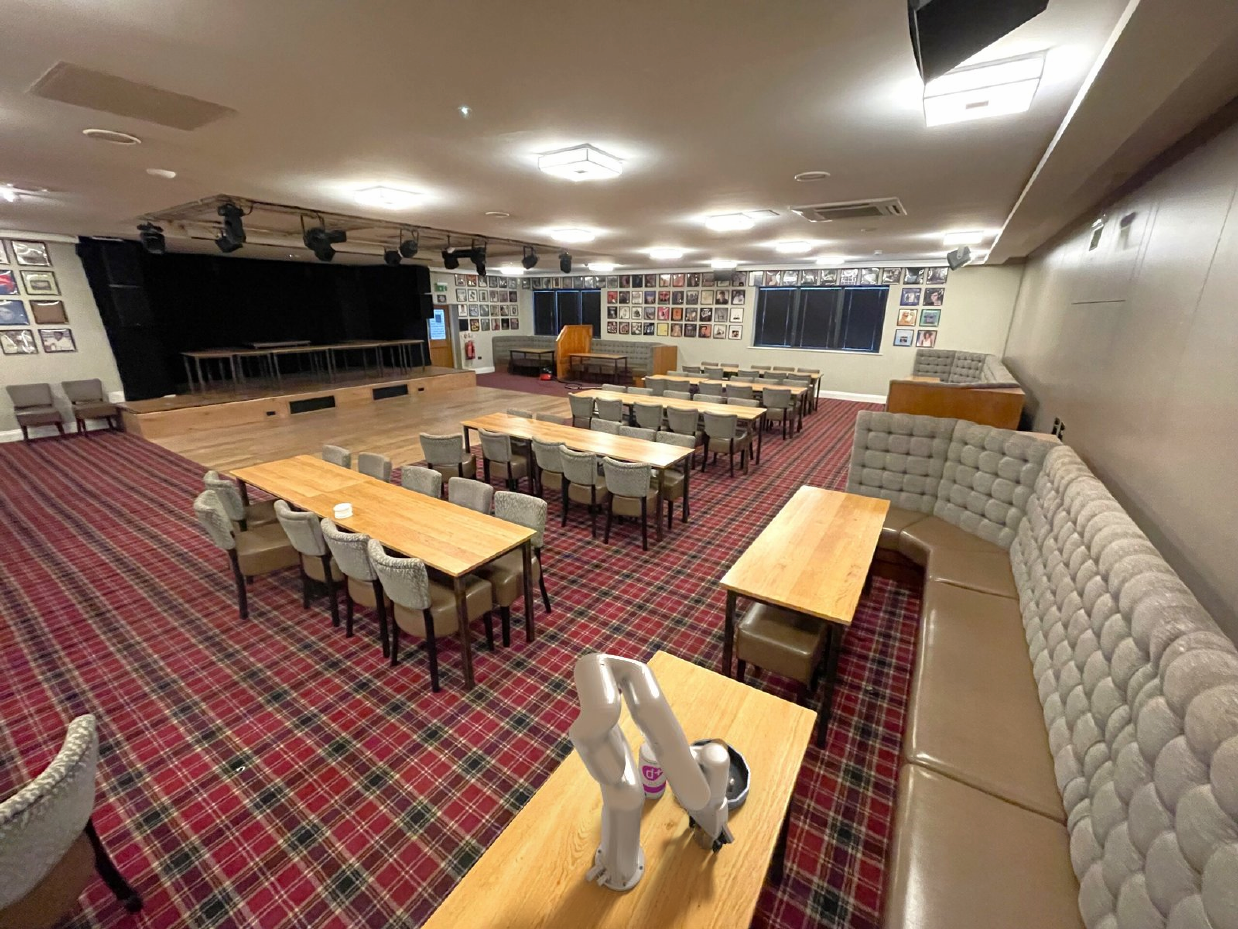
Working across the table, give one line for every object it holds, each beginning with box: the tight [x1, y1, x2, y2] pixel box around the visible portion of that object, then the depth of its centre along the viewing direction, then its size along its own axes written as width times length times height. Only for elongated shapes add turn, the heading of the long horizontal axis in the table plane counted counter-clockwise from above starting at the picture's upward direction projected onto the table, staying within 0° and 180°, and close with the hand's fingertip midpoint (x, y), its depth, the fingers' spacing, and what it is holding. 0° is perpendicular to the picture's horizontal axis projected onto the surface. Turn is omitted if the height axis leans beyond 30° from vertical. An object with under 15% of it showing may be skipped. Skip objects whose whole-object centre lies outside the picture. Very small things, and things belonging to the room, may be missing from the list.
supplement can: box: [637, 740, 667, 800], centre depth 140 cm, size 8×8×15 cm
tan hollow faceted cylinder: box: [693, 821, 715, 850], centre depth 129 cm, size 5×5×5 cm
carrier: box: [690, 738, 752, 812], centre depth 145 cm, size 20×20×6 cm
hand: (705, 835), depth 130 cm, fingers open, 7 cm apart
